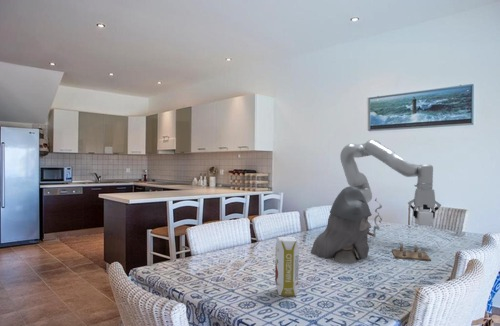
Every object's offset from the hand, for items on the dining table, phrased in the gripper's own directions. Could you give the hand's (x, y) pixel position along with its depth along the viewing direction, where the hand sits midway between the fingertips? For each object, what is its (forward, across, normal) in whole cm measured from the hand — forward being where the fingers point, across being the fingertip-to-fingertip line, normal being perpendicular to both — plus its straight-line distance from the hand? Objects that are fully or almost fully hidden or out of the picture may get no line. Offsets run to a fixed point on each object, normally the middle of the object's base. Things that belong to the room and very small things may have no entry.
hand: (423, 218), depth 188 cm
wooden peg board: (+17, -9, -18) cm, 27 cm away
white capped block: (+4, 0, 0) cm, 4 cm away
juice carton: (+18, -60, -89) cm, 109 cm away
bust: (+18, -42, -27) cm, 53 cm away
